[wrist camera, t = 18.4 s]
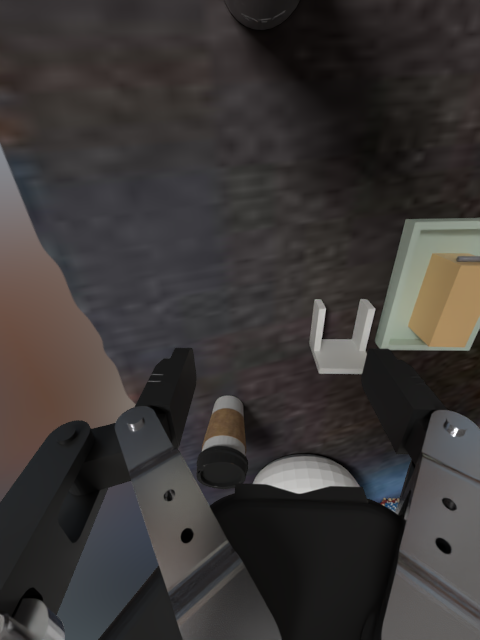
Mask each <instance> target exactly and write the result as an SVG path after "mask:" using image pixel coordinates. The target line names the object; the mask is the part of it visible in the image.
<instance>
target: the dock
mask: <svg viewBox="0 0 480 640" xmlns="http://www.w3.org/2000/svg"><path fill="white" fill-rule="evenodd" d="M325 313H326V308H325V306H324V304H323V302H322V300H321V299H315V301H314V309H313V317H312V326H311V334H310V343H309V345H310V348H311V351H312V354H313V357H314V360H315V363H316V366H317V369H318V372H319V374H362V372H363V368H364V364H365V360H366V356H367V353H366V352H365V350H366V346H367V342H368V338H369V334H370V330H371V325H372V321H373V317H374V313H375V308H374V307H373V306H372V304H371V303H370V302H369V301H368V300H367V299H360V303H359V308H358V313H357V318H356V323H355V327H354V332H353V337H352V339H322V334H323V327H324V320H325Z"/></svg>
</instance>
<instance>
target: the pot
mask: <svg viewBox="0 0 480 640" xmlns="http://www.w3.org/2000/svg"><path fill="white" fill-rule="evenodd" d="M253 484H267V485H270V486H274V487H277V488H280V489H284V490H287V491H290V492H294V493H298V494H302V493H306V492H310V491H314V490H318V489H321V488H325V487H329V486H346V487H360V486H359V484H358V483H357V481H356V480H355V479H354V477H353V476H352V475H351V474H350V473H349V471H348V470H346V469H345V468H344V467H343V466H341V465H340V464H338V463H336V462H335V461H333V460H331V459H328V458H325V457H322V456H318V455H311V454H297V455H290V456H285V457H282V458H279V459H276V460H274V461H273V462H271V463H269V464H268V465H267V466H265V467H264V468H263V469H262V470H261V471H260V472H259V473H258V475H257V476H256V478H255V480H254V482H253Z"/></svg>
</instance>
